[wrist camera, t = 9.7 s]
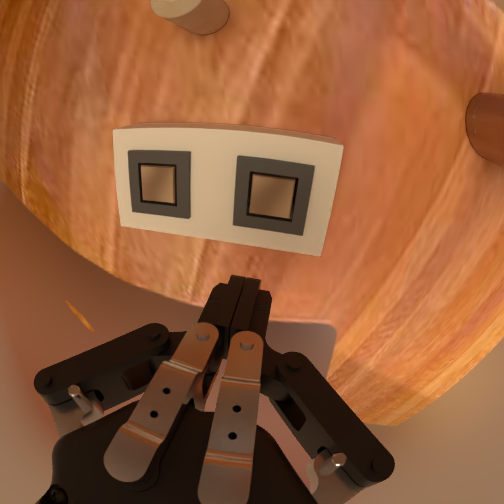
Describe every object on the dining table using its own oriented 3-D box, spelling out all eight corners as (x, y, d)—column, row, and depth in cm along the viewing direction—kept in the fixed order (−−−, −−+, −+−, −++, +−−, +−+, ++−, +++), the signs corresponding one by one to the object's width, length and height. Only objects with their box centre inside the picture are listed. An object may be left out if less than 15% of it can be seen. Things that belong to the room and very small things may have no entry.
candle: (227, 34, 23) (196, 9, 15) (182, 36, 24) (138, 19, 15) (232, -4, 20) (204, -38, 12) (187, 0, 21) (147, -27, 12)
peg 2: (296, 165, 30) (295, 180, 25) (291, 197, 32) (289, 219, 27) (261, 160, 31) (252, 174, 25) (258, 192, 33) (249, 213, 27)
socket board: (335, 138, 28) (344, 146, 22) (318, 231, 34) (320, 259, 28) (140, 123, 30) (109, 130, 24) (143, 207, 36) (118, 227, 31)
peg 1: (196, 154, 31) (173, 167, 26) (195, 185, 33) (174, 203, 28) (167, 152, 32) (140, 165, 26) (167, 182, 34) (142, 200, 28)
